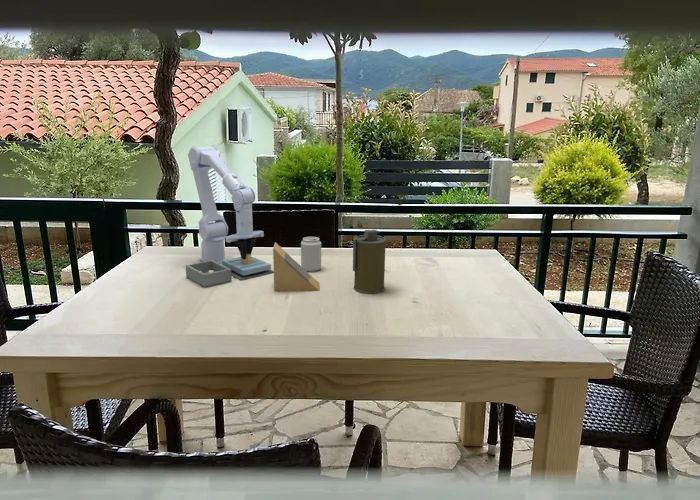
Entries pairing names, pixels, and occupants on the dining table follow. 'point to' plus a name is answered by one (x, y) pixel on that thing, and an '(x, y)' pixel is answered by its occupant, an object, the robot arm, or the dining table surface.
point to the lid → (246, 265)
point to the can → (311, 254)
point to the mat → (250, 274)
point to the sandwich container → (291, 273)
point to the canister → (369, 262)
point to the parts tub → (208, 273)
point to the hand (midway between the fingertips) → (245, 258)
